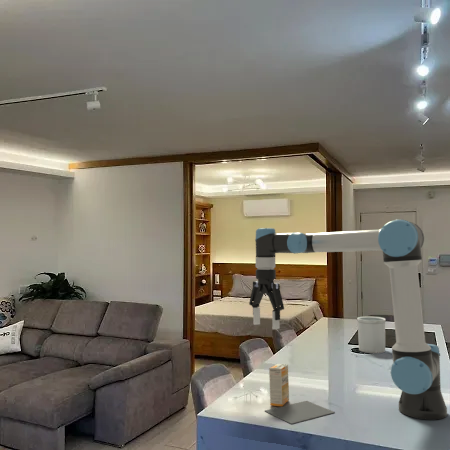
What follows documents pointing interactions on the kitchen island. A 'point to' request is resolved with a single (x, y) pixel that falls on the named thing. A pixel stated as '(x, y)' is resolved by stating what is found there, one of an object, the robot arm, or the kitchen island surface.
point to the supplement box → (279, 384)
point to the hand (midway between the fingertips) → (266, 326)
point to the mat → (299, 412)
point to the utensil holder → (371, 334)
